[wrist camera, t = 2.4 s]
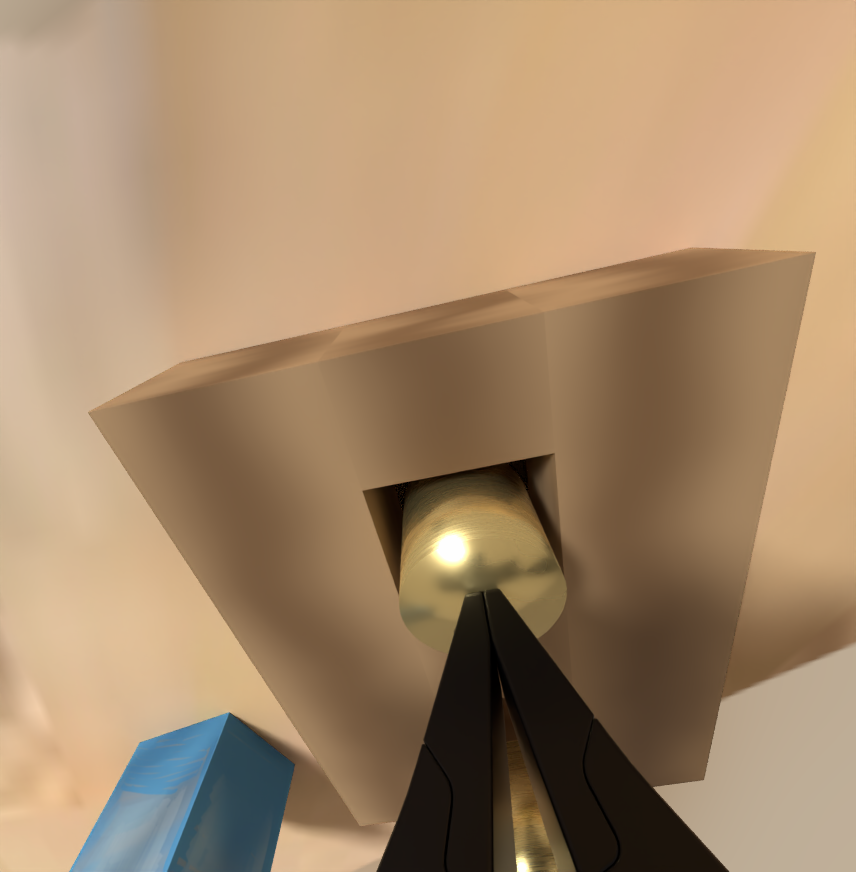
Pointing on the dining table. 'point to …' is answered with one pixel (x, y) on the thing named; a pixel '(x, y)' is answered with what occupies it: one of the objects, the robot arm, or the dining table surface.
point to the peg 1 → (474, 552)
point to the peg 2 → (527, 818)
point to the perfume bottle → (193, 804)
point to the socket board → (474, 448)
